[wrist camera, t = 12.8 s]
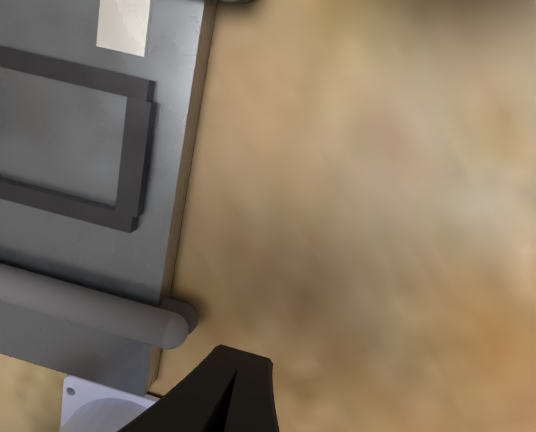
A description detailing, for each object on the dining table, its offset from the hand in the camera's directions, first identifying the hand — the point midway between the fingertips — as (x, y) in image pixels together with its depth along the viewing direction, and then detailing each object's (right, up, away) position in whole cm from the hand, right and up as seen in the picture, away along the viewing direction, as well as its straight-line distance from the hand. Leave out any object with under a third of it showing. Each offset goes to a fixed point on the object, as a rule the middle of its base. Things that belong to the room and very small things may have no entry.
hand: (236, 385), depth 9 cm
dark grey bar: (-12, +1, +11) cm, 17 cm away
